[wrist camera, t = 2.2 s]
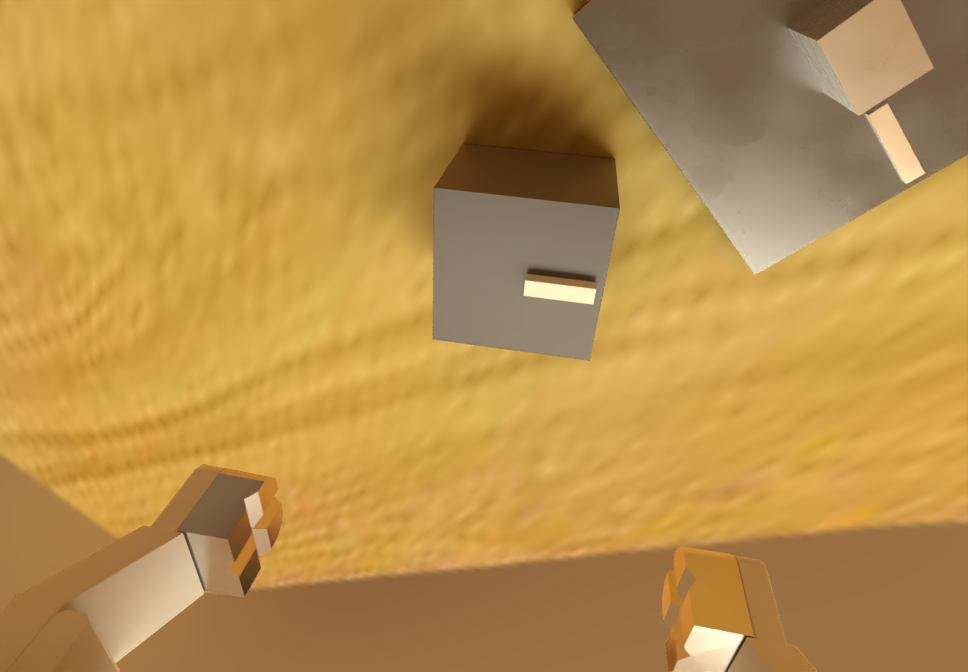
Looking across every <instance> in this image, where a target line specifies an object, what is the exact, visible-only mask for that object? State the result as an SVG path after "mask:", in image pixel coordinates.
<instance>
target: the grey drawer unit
mask: <svg viewBox="0 0 968 672" xmlns="http://www.w3.org/2000/svg"><path fill="white" fill-rule="evenodd" d="M619 210H620V206H619V196H618V185H617V175H616V165H615V159H610V158H600V157H590V156H581V155H571V154H561V153H552V152H542V151H532V150H523V149H513V148H503V147H494V146H484V145H474V144H465V143H463V145H462V146H461V148H460V149H459V151H458V152H457V154H456V155H455V157H454V158H453V160H452V161H451V163H450V164H449V166H448V167H447V169H446V170H445V172H444V173H443V175H442V177H441V178H440V180H439V181H438V183H437V184H436V186H435V187H434V249H433V339H434V340H442V341H449V342H456V343H464V344H471V345H478V346H486V347H493V348H500V349H507V350H515V351H522V352H529V353H537V354H544V355H551V356H559V357H566V358H573V359H581V360H588V361H590V357H591V352H592V347H593V342H594V337H595V332H596V327H597V322H598V316H599V311H600V306H601V301H602V296H603V291H604V286H605V281H606V276H607V271H608V266H609V260H610V255H611V250H612V245H613V240H614V235H615V230H616V225H617V220H618V215H619Z"/></svg>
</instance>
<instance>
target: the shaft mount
mask: <svg viewBox="0 0 968 672" xmlns="http://www.w3.org/2000/svg"><path fill="white" fill-rule="evenodd" d="M573 20H574V21H575V22H576V24H577V25H578V27H579V28H580V30H581V31H582V32H583V34H584V35H585V37H586V38H587V39H588V41H589V42H590V44H591V45H592V46H593V48H594V49H595V51H596V52H597V53H598V55H599V56H600V58H601V59H602V60H603V62H604V63H605V65H606V66H607V68H608V69H609V70H610V72H611V73H612V75H613V76H614V77H615V79H616V80H617V82H618V83H619V84H620V86H621V87H622V89H623V90H624V91H625V93H626V94H627V96H628V97H629V98H630V100H631V101H632V103H633V104H634V106H635V107H636V108H637V110H638V111H639V113H640V114H641V115H642V117H643V118H644V120H645V121H646V122H647V124H648V125H649V127H650V128H651V129H652V131H653V132H654V134H655V135H656V136H657V138H658V139H659V141H660V142H661V144H662V145H663V146H664V148H665V149H666V151H667V152H668V153H669V155H670V156H671V158H672V159H673V160H674V162H675V163H676V165H677V166H678V167H679V169H680V170H681V172H682V173H683V174H684V176H685V177H686V179H687V180H688V182H689V183H690V184H691V186H692V187H693V189H694V190H695V191H696V193H697V194H698V196H699V197H700V198H701V200H702V201H703V203H704V204H705V205H706V207H707V208H708V210H709V211H710V212H711V214H712V215H713V217H714V218H715V220H716V221H717V222H718V224H719V225H720V227H721V228H722V229H723V231H724V232H725V234H726V235H727V236H728V238H729V239H730V241H731V242H732V243H733V245H734V246H735V248H736V249H737V250H738V252H739V253H740V255H741V256H742V258H743V259H744V260H745V262H746V263H747V265H748V266H749V267H750V269H751V270H752V272H753V273H754V274H755V275H756V274H757V273H759V272H761V271H763V270H765V269H766V268H768V267H770V266H772V265H773V264H775V263H777V262H779V261H780V260H782V259H784V258H786V257H787V256H789V255H791V254H793V253H795V252H796V251H798V250H800V249H802V248H803V247H805V246H807V245H809V244H810V243H812V242H814V241H816V240H818V239H819V238H821V237H823V236H825V235H826V234H828V233H830V232H832V231H833V230H835V229H837V228H839V227H841V226H842V225H844V224H846V223H848V222H849V221H851V220H853V219H855V218H856V217H858V216H860V215H862V214H864V213H865V212H867V211H869V210H871V209H872V208H874V207H876V206H878V205H879V204H881V203H883V202H885V201H887V200H888V199H890V198H892V197H894V196H895V195H897V194H899V193H901V192H902V191H904V190H906V189H908V188H910V187H911V186H913V185H915V184H917V183H918V182H920V181H922V180H924V179H925V178H927V177H929V176H931V175H932V174H934V173H936V172H938V171H940V170H941V169H943V168H945V167H947V166H948V165H950V164H952V163H954V162H955V161H957V160H959V159H961V158H963V157H964V156H966V155H968V0H589V1H588V2H587V3H586V4H585V5H584V6H583V7H582V8H581V9H580V10H579V11H577V12H576V13H575V14H574V15H573Z"/></svg>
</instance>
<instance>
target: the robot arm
mask: <svg viewBox="0 0 968 672" xmlns="http://www.w3.org/2000/svg"><path fill="white" fill-rule="evenodd" d="M277 490H278V487H277V483H276V479H275V478H272V477H267V476H262V475H257V474H252V473H247V472H242V471H237V470H232V469H228V468H222V467H216V466H211V465H205V464H203V465H202V466H200V467H198V468H197V469H196V470H195V471H194V472H193V473H192V474H191V476H190V477H189V478H188V480H187V481H186V482H185V483H184V485H183V486H182V487H181V489H180V490H179V491H178V492H177V494H176V495H175V496H174V498H173V499H172V500H171V501H170V503H169V504H168V505H167V506H166V508H165V509H164V510H163V512H162V513H161V514H160V515H159V517H158V518H157V519H156V521H155V522H154V523H153V524H152V526H151V527H149V526H142V527H141V528H139V529H137V530H135V531H133V532H131V533H130V534H128V535H126V536H124V537H122V538H120V539H119V540H117V541H115V542H113V543H111V544H110V545H108V546H106V547H104V548H103V549H100V550H99V551H97V552H95V553H93V554H91V555H89V556H88V557H86V558H84V559H82V560H80V561H79V562H77V563H75V564H73V565H71V566H69V567H67V568H66V569H64V570H62V571H60V572H58V573H56V574H55V575H53V576H51V577H49V578H47V579H46V580H44V581H42V582H40V583H38V584H37V585H35V586H33V587H31V588H29V589H27V590H25V591H24V592H22V593H20V594H18V595H16V596H15V597H14V598H13V599H12V600H11V601H10V602H9V603H8V604H7V605H6V606H5V608H4V609H3V610H2V611H1V612H0V672H120V670H119V669H118V667H117V665H116V662H117V661H119V660H120V659H121V658H123V657H124V656H125V655H126V654H127V653H129V652H130V651H131V650H133V649H134V648H135V647H137V646H138V645H139V644H140V643H142V642H143V641H144V640H145V639H147V638H148V637H149V636H151V635H152V634H153V633H154V632H156V631H157V630H158V629H159V628H161V627H162V626H163V625H165V624H166V623H167V622H168V621H170V620H171V619H172V618H173V617H175V616H176V615H177V614H179V613H180V612H181V611H182V610H184V609H185V608H186V607H187V606H189V605H190V604H191V603H192V602H194V601H195V600H196V599H198V598H199V597H200V596H201V595H203V594H204V591H209V592H215V593H221V594H227V595H234V596H240V597H245V596H246V594H247V592H248V591H249V589H250V587H251V585H252V583H253V582H254V580H255V578H256V576H257V574H258V573H259V571H260V569H261V566H260V561H259V557H260V556H261V555H263V554H265V553H266V552H268V551H269V550H271V549H272V547H273V545H274V543H275V541H276V539H277V537H278V534H279V531H280V527H281V524H282V506H281V503H280V502H279V501H278V500H277V499H276V498H275V497H274V495H275V493H276V492H277ZM673 559H674V569H672V570H671V571H669V572H668V573H667V576H666V579H665V582H664V589H663V595H662V611H663V622H664V623H665V624H666V626H667V627H668V629H669V630H670V631H671V632H670V634H669V637H668V639H667V642H666V655H667V665H668V672H818V671H817V670H816V669H815V668H814V667H813V665H812V664H811V663H810V662H809V661H808V660H807V658H805V656H804V655H803V654H802V653H801V652H800V650H799V649H798V648H797V647H796V646H793V645H789V644H787V642H786V638H785V634H784V631H783V627H782V623H781V620H780V616H779V612H778V608H777V605H776V602H775V598H774V594H773V590H772V587H771V583H770V580H769V576H768V572H767V568H766V565H765V564H764V563H763V561H762V560H759V559H753V558H747V557H741V556H735V555H732V554H727V553H720V552H714V551H707V550H701V549H695V548H689V547H682V546H680V547H679V548H678V549H677V550H676V552H675V555H674V557H673Z"/></svg>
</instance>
